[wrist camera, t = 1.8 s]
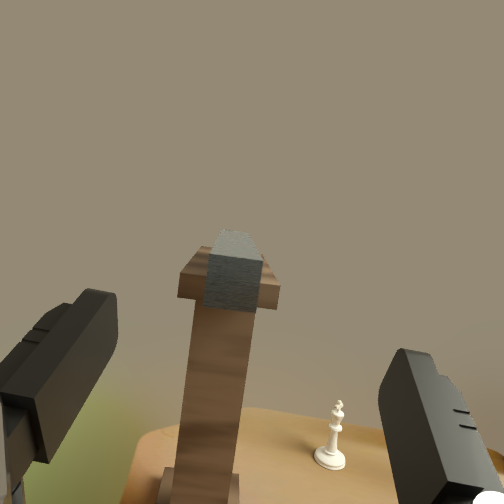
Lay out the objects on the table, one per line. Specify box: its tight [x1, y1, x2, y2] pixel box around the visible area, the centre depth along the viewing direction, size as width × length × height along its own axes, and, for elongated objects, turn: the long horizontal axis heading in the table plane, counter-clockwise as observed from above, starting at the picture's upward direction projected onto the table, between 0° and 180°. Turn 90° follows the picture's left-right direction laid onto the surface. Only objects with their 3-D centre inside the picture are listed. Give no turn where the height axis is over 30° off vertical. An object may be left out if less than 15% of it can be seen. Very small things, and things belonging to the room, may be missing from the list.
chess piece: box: [314, 400, 345, 470], centre depth 60 cm, size 5×5×10 cm
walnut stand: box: [155, 246, 280, 504], centre depth 42 cm, size 20×10×32 cm, turn 3°
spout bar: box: [202, 229, 263, 313], centre depth 32 cm, size 22×3×3 cm, turn 3°
